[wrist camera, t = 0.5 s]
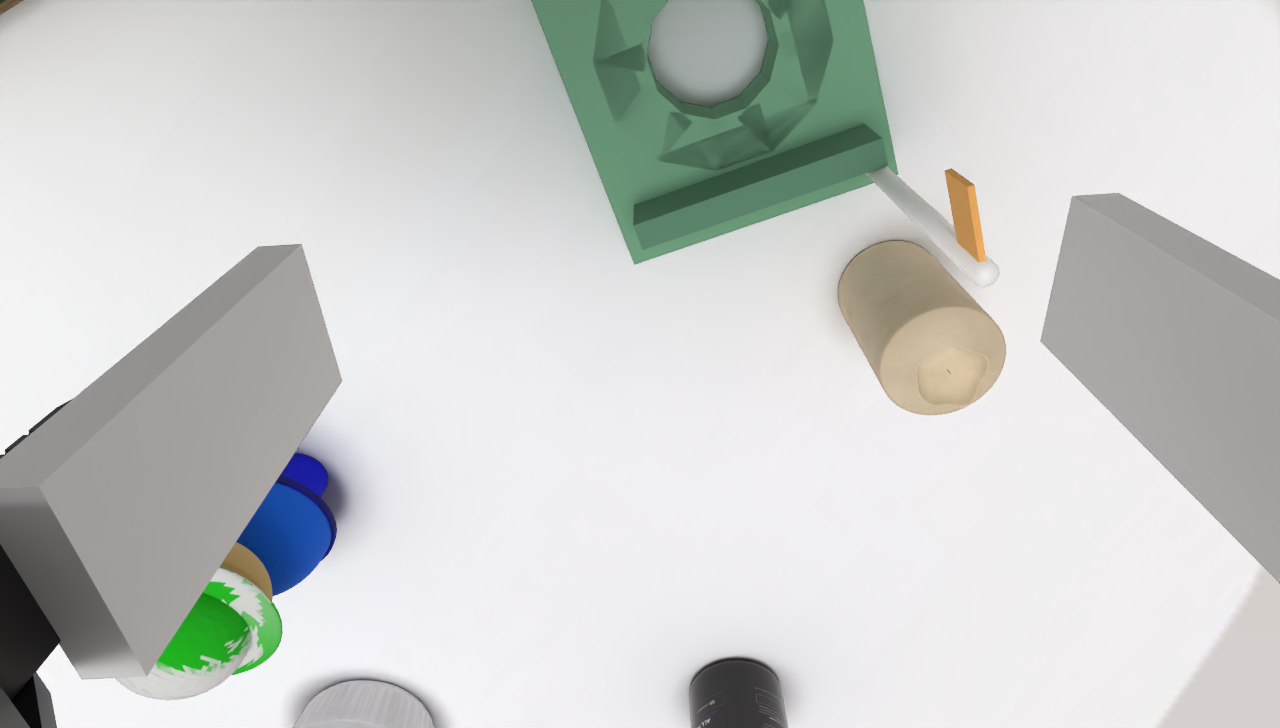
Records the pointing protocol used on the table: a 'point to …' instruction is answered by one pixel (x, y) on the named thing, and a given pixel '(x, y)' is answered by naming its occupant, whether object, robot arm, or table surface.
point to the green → (742, 129)
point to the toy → (248, 589)
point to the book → (7, 4)
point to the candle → (920, 329)
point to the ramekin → (364, 707)
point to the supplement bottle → (736, 697)
